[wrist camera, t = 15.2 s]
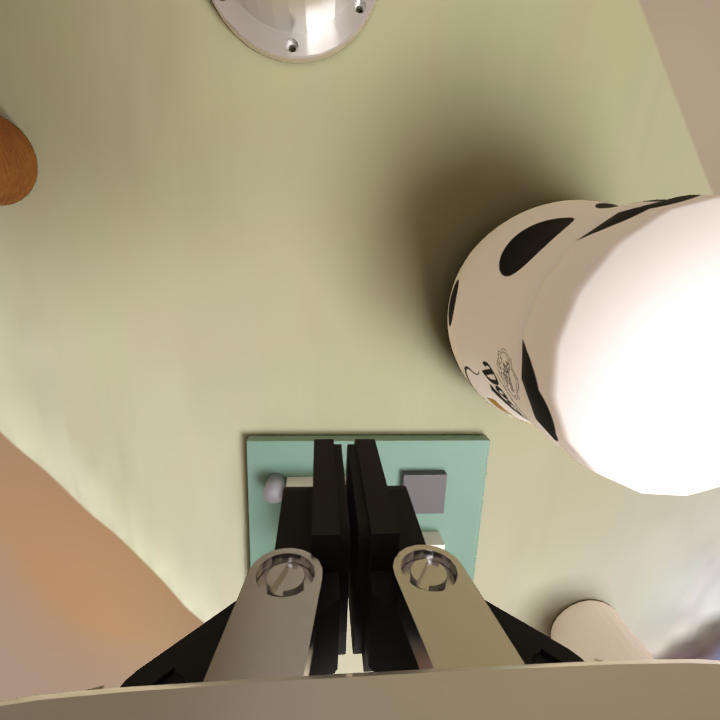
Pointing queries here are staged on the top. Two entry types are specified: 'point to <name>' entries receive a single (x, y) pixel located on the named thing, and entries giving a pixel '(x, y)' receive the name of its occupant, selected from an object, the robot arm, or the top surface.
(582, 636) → the mug
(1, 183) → the disposable coffee cup
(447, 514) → the board
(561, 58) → the top surface
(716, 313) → the milk container
